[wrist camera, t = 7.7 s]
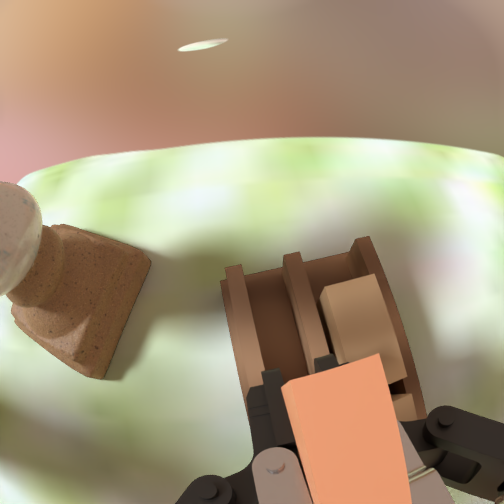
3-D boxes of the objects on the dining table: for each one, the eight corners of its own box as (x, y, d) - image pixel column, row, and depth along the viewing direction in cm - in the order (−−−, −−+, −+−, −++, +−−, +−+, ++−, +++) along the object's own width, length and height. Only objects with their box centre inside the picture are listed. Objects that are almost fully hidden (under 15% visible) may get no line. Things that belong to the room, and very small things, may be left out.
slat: (313, 434, 15) (413, 514, 3) (288, 441, 15) (330, 547, 3) (301, 384, 17) (378, 353, 4) (276, 390, 17) (290, 380, 4)
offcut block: (378, 380, 16) (407, 376, 12) (336, 395, 16) (355, 396, 12) (353, 298, 19) (374, 273, 15) (313, 309, 19) (324, 286, 15)
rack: (421, 487, 13) (450, 501, 9) (280, 535, 13) (282, 564, 9) (360, 256, 22) (377, 226, 18) (223, 287, 22) (212, 262, 18)
